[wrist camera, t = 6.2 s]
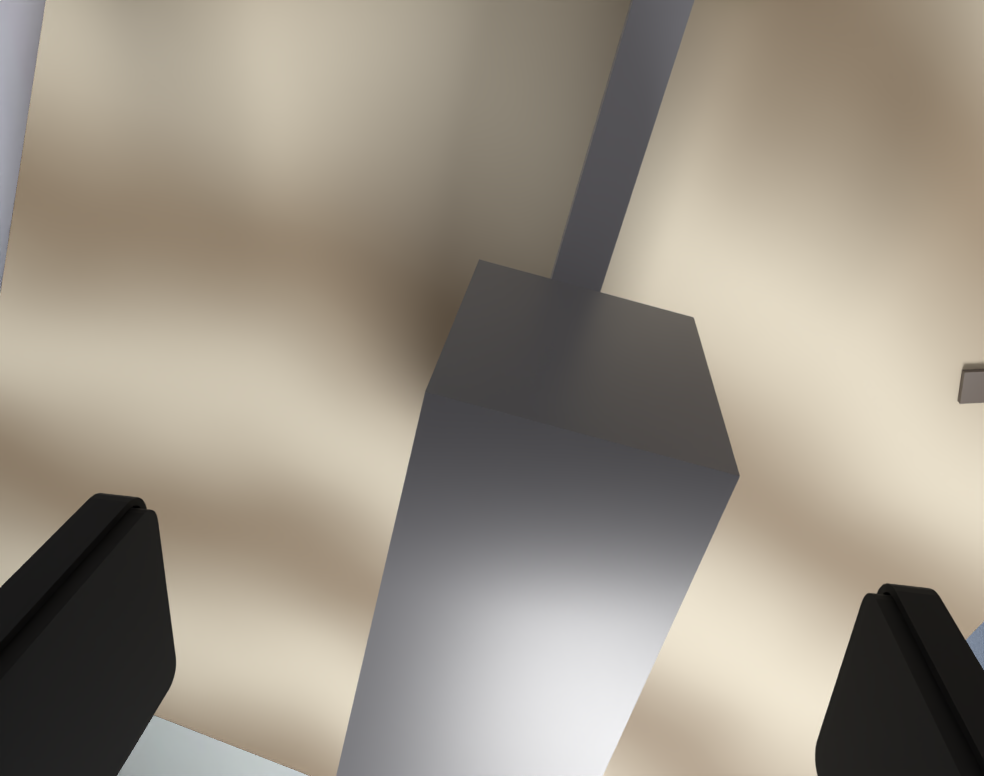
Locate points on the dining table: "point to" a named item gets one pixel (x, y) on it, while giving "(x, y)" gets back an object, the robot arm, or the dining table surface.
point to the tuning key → (548, 492)
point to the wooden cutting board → (439, 293)
